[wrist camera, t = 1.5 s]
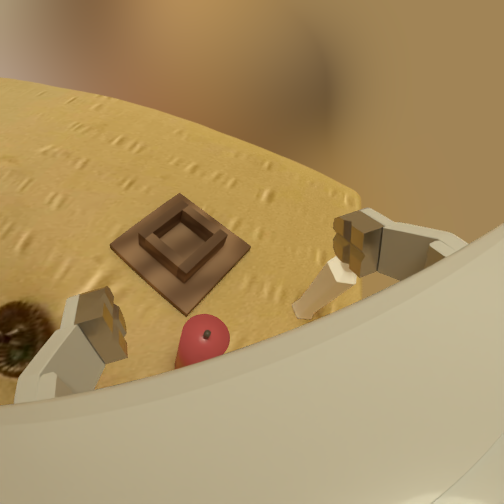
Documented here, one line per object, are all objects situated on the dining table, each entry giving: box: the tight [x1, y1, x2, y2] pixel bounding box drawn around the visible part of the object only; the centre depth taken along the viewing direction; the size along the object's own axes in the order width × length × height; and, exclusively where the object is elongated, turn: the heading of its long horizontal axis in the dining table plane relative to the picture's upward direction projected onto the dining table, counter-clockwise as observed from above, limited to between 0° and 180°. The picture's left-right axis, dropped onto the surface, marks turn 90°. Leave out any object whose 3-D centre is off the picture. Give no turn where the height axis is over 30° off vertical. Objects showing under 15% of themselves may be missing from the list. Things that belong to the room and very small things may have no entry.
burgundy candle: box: [175, 314, 230, 369], centre depth 30 cm, size 4×4×14 cm
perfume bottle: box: [292, 256, 356, 319], centre depth 40 cm, size 5×4×15 cm
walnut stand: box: [110, 193, 251, 316], centre depth 44 cm, size 16×16×4 cm
